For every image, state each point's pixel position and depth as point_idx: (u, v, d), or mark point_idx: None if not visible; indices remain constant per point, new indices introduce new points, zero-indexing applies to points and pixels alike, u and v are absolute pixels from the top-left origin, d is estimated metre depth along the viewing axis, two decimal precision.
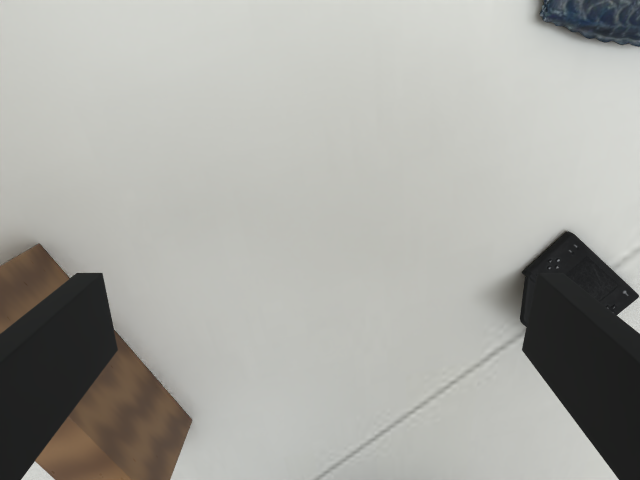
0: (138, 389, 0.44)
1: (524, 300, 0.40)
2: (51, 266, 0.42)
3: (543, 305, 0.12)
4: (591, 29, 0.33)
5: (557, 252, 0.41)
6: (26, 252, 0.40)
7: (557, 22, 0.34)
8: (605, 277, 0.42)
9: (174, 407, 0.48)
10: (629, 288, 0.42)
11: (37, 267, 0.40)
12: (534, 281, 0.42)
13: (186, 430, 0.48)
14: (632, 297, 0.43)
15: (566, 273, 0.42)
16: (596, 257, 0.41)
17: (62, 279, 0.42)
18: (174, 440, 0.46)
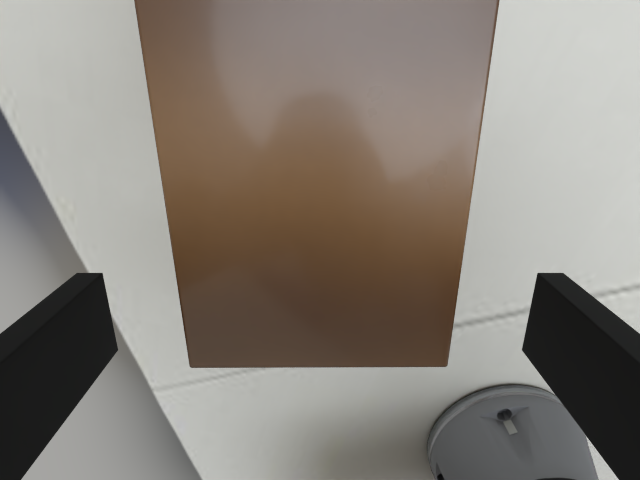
0: None
1: None
2: None
3: (543, 305, 0.12)
4: None
5: None
6: None
7: None
8: None
9: None
10: None
11: None
12: None
13: None
14: None
15: None
16: None
17: None
18: None
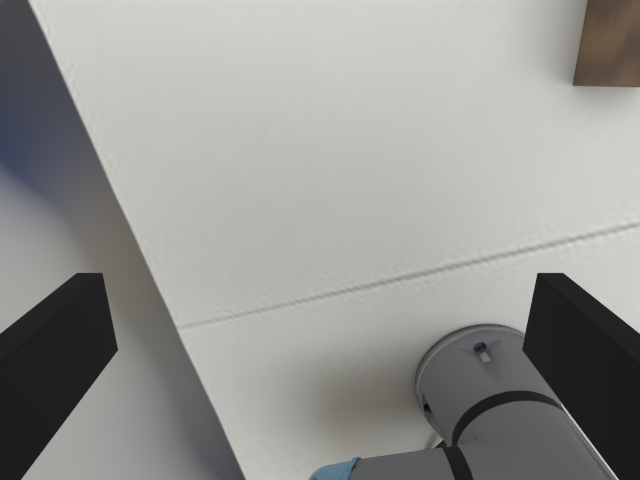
0: None
1: None
2: None
3: (543, 305, 0.12)
4: None
5: None
6: None
7: None
8: None
9: None
10: None
11: None
12: None
13: None
14: None
15: None
16: None
17: None
18: None
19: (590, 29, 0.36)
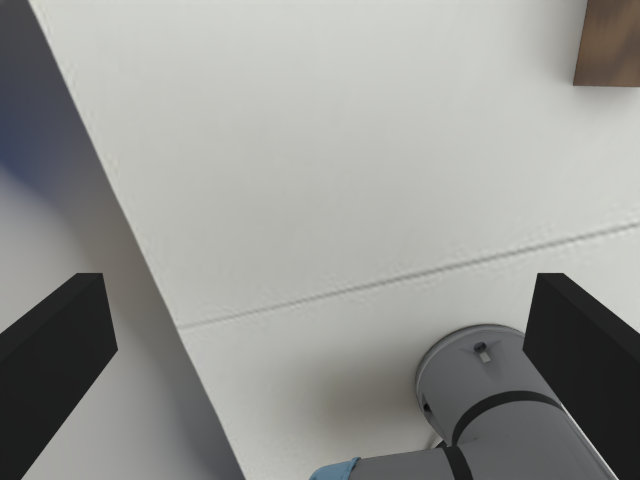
0: None
1: None
2: None
3: (543, 305, 0.12)
4: None
5: None
6: None
7: None
8: None
9: None
10: None
11: None
12: None
13: None
14: None
15: None
16: None
17: None
18: None
19: (590, 29, 0.36)
